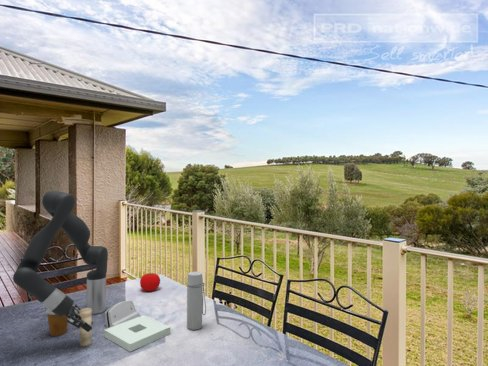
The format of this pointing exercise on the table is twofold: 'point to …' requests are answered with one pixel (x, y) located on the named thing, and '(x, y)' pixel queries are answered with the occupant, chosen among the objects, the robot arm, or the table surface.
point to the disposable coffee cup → (56, 323)
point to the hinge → (120, 313)
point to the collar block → (130, 339)
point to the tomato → (149, 282)
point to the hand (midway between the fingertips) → (90, 327)
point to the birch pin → (84, 335)
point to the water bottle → (195, 300)
